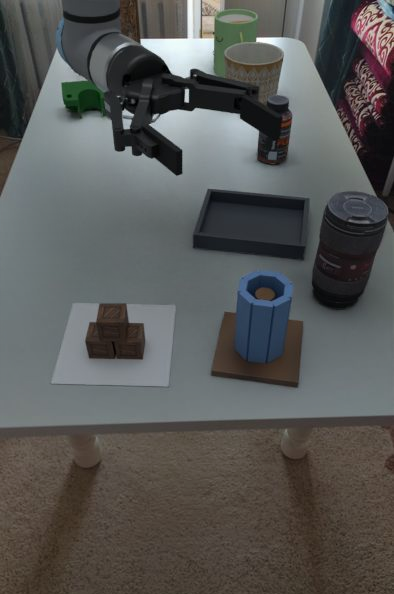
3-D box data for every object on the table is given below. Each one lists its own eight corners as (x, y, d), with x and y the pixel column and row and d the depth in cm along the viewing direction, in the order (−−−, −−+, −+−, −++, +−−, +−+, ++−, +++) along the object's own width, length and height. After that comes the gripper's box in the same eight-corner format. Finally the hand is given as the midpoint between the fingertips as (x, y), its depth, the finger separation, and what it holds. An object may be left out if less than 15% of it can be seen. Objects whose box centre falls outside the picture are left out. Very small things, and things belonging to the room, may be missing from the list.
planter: (220, 113, 120) (221, 62, 113) (225, 89, 129) (227, 40, 121) (277, 116, 119) (283, 65, 111) (280, 91, 127) (284, 42, 120)
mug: (208, 64, 139) (209, 10, 130) (248, 61, 140) (251, 7, 131) (218, 84, 130) (220, 28, 122) (261, 81, 132) (265, 25, 123)
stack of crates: (176, 305, 79) (174, 268, 74) (168, 386, 69) (165, 350, 64) (73, 303, 80) (64, 266, 75) (50, 383, 70) (38, 347, 64)
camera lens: (369, 313, 78) (397, 224, 67) (312, 313, 78) (331, 225, 67) (358, 275, 83) (382, 188, 72) (304, 276, 83) (320, 188, 72)
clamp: (78, 135, 123) (55, 104, 115) (77, 117, 126) (54, 86, 118) (126, 113, 120) (105, 80, 112) (123, 95, 123) (103, 61, 115)
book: (145, 88, 129) (136, -39, 111) (123, 91, 128) (109, -36, 110) (126, 62, 140) (114, -57, 121) (105, 66, 138) (90, -55, 120)
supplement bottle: (278, 168, 104) (285, 109, 96) (251, 160, 107) (255, 101, 98) (292, 155, 108) (299, 96, 99) (265, 147, 110) (270, 89, 102)
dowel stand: (302, 326, 76) (313, 270, 69) (297, 387, 69) (308, 332, 62) (224, 316, 78) (226, 260, 70) (211, 375, 70) (212, 319, 63)
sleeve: (285, 330, 74) (294, 273, 67) (281, 366, 70) (290, 309, 63) (238, 324, 75) (242, 267, 68) (231, 359, 71) (235, 302, 63)
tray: (307, 211, 95) (309, 197, 93) (303, 259, 86) (305, 246, 84) (207, 201, 97) (207, 188, 95) (193, 247, 88) (192, 234, 86)
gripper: (208, 83, 79) (309, 145, 67) (47, 129, 69) (134, 211, 58) (210, 25, 73) (321, 83, 62) (35, 66, 63) (129, 144, 52)
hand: (231, 145), depth 60 cm, fingers open, 13 cm apart
